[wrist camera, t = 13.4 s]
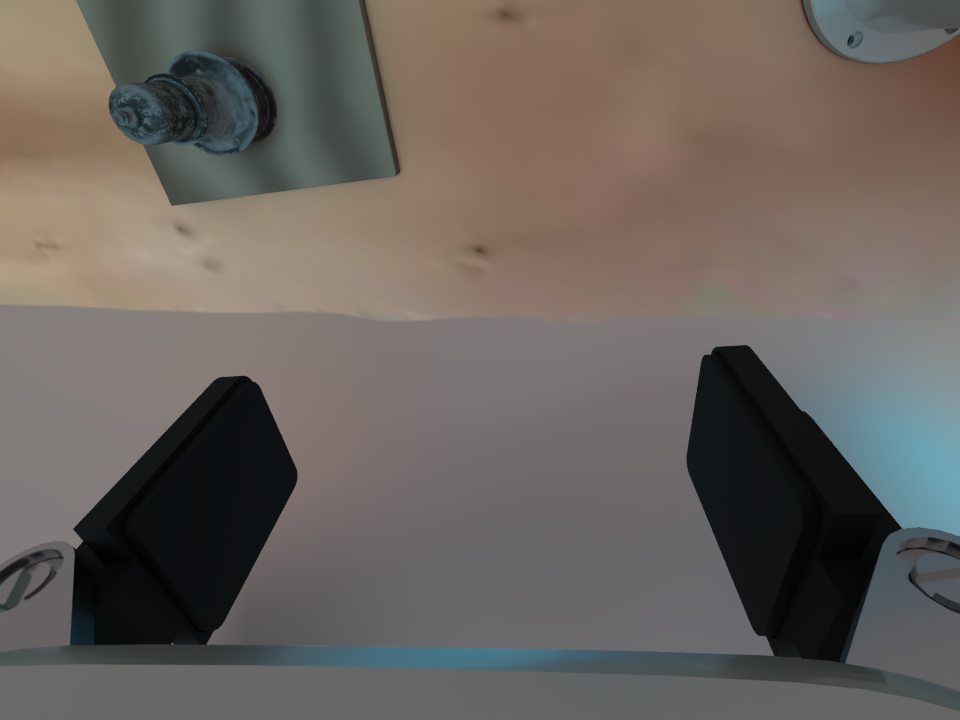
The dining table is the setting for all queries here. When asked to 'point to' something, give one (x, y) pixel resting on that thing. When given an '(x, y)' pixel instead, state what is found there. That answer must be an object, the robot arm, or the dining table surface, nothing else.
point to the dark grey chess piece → (198, 105)
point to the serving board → (290, 74)
